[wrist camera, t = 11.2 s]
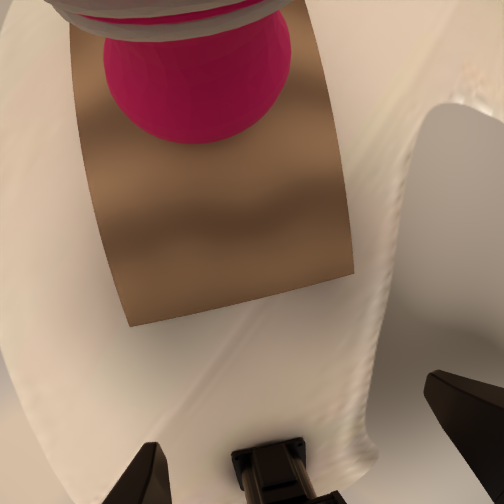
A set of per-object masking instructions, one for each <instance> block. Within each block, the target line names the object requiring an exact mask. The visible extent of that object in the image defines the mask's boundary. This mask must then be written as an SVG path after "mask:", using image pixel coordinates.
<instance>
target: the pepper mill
mask: <svg viewBox="0 0 504 504" xmlns="http://www.w3.org/2000/svg"><path fill="white" fill-rule="evenodd" d="M44 1H45V2H48V3H50V4H52V6H53V7H54V9H55V10H56V11H57V12H58V13H59V14H60V15H61V16H62V17H63V18H64V19H65V20H66V21H68V22H69V23H71V24H73V25H74V26H76V27H78V28H79V29H81V30H83V31H85V32H88V33H90V34H93V35H97V36H102V37H106V39H105V43H104V49H103V63H104V69H105V75H106V81H107V84H108V87H109V90H110V93H111V95H112V96H113V98H114V100H115V102H116V103H117V105H118V107H119V108H120V109H121V110H122V111H123V112H124V113H125V114H126V116H127V117H128V118H129V119H130V120H131V121H132V122H133V123H134V124H136V125H137V126H138V127H140V128H141V129H143V130H144V131H145V132H147V133H149V134H151V135H153V136H155V137H157V138H160V139H163V140H167V141H170V142H175V143H182V144H204V143H211V142H216V141H220V140H223V139H227V138H229V137H232V136H234V135H236V134H238V133H241V132H243V131H244V130H246V129H247V128H249V127H250V126H252V125H254V124H255V123H256V122H257V121H258V120H259V119H261V118H262V117H263V116H264V115H265V114H266V113H267V112H268V110H269V109H270V108H271V107H272V106H273V104H274V103H275V101H276V99H277V97H278V96H279V94H280V92H281V91H282V89H283V87H284V85H285V82H286V79H287V77H288V74H289V71H290V62H291V54H292V52H291V42H290V34H289V30H288V27H287V24H286V21H285V19H284V18H283V16H282V14H281V12H280V10H279V9H280V8H282V7H284V6H286V5H287V4H289V3H290V2H292V1H293V0H44Z"/></svg>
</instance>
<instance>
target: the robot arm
mask: <svg viewBox="0 0 504 504" xmlns="http://www.w3.org/2000/svg"><path fill="white" fill-rule="evenodd" d="M424 396H425V398H426V400H427V402H428V404H429V405H430V407H431V409H432V411H433V412H434V414H435V416H436V418H437V420H438V421H439V423H440V425H441V426H442V428H443V429H444V431H445V432H446V434H447V435H448V436H449V438H450V439H451V441H452V442H453V443H454V445H455V446H456V448H457V449H458V450H459V452H460V453H461V455H462V456H463V458H464V459H465V461H466V462H467V464H468V465H469V466H470V468H471V469H472V471H473V472H474V474H475V475H476V477H477V478H478V480H479V481H480V483H481V484H482V486H483V487H484V489H485V490H486V491H487V493H488V495H489V496H490V498H491V499H492V501H493V502H494V504H504V388H502V387H498V386H494V385H491V384H487V383H483V382H480V381H476V380H472V379H469V378H465V377H462V376H458V375H455V374H452V373H448V372H445V371H442V370H435V371H432V372H430V373H429V374H428V375H427V378H426V382H425V387H424ZM231 458H232V462H233V465H234V469H235V472H236V475H237V479H238V482H239V485H240V488H241V490H242V491H245V496H246V500H247V504H347V503H346V502H345V500H344V499H343V498H342V496H341V495H340V493H339V492H338V490H336V491H333V492H331V493H330V494H326V495H323V496H320V497H317V496H316V493H315V491H314V489H313V486H312V484H311V482H310V479H309V477H308V474H307V472H306V449H305V441H304V439H303V438H298V439H294V440H290V441H286V442H282V443H277V444H273V445H268V446H264V447H259V448H254V449H249V450H243V451H238V452H234V453H232V454H231ZM102 504H172V499H171V491H170V482H169V473H168V464H167V459H166V457H165V455H164V453H163V451H162V449H161V447H160V445H159V443H158V442H146V443H144V444H143V446H142V447H141V449H140V450H139V452H138V453H137V454H136V456H135V457H134V459H133V460H132V462H131V463H130V464H129V466H128V467H127V469H126V470H125V472H124V473H123V474H122V476H121V477H120V479H119V480H118V481H117V483H116V484H115V486H114V487H113V489H112V490H111V491H110V493H109V494H108V496H107V497H106V498H105V500H104V501H103V503H102Z"/></svg>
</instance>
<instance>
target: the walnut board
mask: <svg viewBox="0 0 504 504" xmlns="http://www.w3.org/2000/svg"><path fill="white" fill-rule="evenodd" d="M279 10H280V12H281V14H282V16H283V18H284V19H285V21H286V24H287V27H288V30H289V34H290V42H291V52H292V54H291V62H290V71H289V74H288V77H287V79H286V82H285V85H284V87H283V89H282V91H281V92H280V94H279V96H278V97H277V99H276V101H275V103H274V104H273V106H272V107H271V108H270V109H269V110H268V112H267V113H266V114H265V115H264V116H263V117H262V118H261V119H259V120H258V121H257V122H256V123H255V124H254V125H252V126H250V127H249V128H247V129H246V130H244V131H243V132H241V133H238V134H236V135H234V136H232V137H229V138H227V139H223V140H220V141H216V142H211V143H204V144H182V143H175V142H170V141H167V140H163V139H160V138H157V137H155V136H153V135H151V134H149V133H147V132H145V131H144V130H143V129H141V128H140V127H138V126H137V125H136V124H134V123H133V122H132V121H131V120H130V119H129V118H128V117H127V116H126V114H125V113H124V112H123V111H122V110H121V109H120V108H119V107H118V105H117V103H116V102H115V100H114V98H113V96H112V95H111V93H110V90H109V87H108V84H107V81H106V75H105V69H104V63H103V49H104V43H105V39H106V37H102V36H97V35H93V34H90V33H88V32H85V31H83V30H81V29H79V28H78V27H76V26H74V25H73V24H71V23H70V53H71V68H72V80H73V91H74V100H75V108H76V116H77V123H78V130H79V137H80V143H81V149H82V155H83V160H84V166H85V171H86V176H87V181H88V185H89V190H90V195H91V199H92V203H93V208H94V212H95V216H96V220H97V224H98V228H99V232H100V235H101V239H102V243H103V246H104V250H105V253H106V257H107V260H108V264H109V267H110V270H111V273H112V277H113V280H114V283H115V286H116V289H117V292H118V295H119V298H120V301H121V304H122V307H123V310H124V312H125V315H126V318H127V321H128V324H129V326H130V327H133V326H138V325H143V324H148V323H153V322H157V321H162V320H167V319H172V318H176V317H181V316H186V315H190V314H195V313H199V312H204V311H208V310H212V309H217V308H221V307H225V306H230V305H234V304H238V303H242V302H247V301H251V300H255V299H259V298H263V297H267V296H271V295H275V294H279V293H283V292H287V291H291V290H295V289H298V288H302V287H306V286H310V285H314V284H317V283H321V282H325V281H329V280H332V279H336V278H340V277H343V276H347V275H350V274H354V264H353V252H352V242H351V232H350V223H349V215H348V207H347V199H346V191H345V184H344V177H343V171H342V164H341V158H340V152H339V146H338V140H337V134H336V129H335V124H334V118H333V113H332V108H331V103H330V99H329V94H328V89H327V85H326V80H325V76H324V71H323V67H322V63H321V59H320V55H319V51H318V47H317V43H316V39H315V35H314V32H313V28H312V24H311V21H310V17H309V14H308V10H307V7H306V4H305V0H293V1H292V2H290V3H289V4H287V5H286V6H284V7H282V8H280V9H279Z"/></svg>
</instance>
